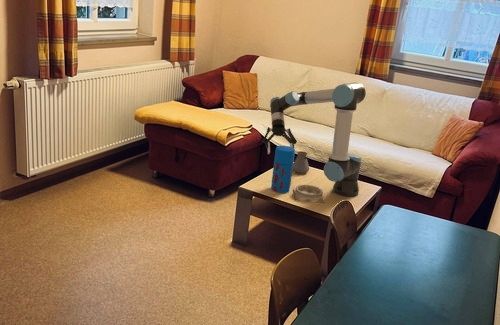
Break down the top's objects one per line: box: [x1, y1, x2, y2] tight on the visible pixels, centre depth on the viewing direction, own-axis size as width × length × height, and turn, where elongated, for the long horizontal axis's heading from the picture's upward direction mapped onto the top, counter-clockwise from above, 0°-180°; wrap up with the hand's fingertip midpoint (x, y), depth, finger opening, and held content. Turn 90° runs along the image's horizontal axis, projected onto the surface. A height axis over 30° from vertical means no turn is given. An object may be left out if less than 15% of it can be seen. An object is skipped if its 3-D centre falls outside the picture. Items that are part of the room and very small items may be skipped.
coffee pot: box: [292, 151, 310, 175], centre depth 307 cm, size 21×12×15 cm, turn 4°
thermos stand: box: [293, 184, 325, 204], centre depth 275 cm, size 16×16×4 cm
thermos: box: [270, 145, 296, 194], centre depth 277 cm, size 11×11×25 cm
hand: (280, 153), depth 280 cm, fingers open, 13 cm apart
